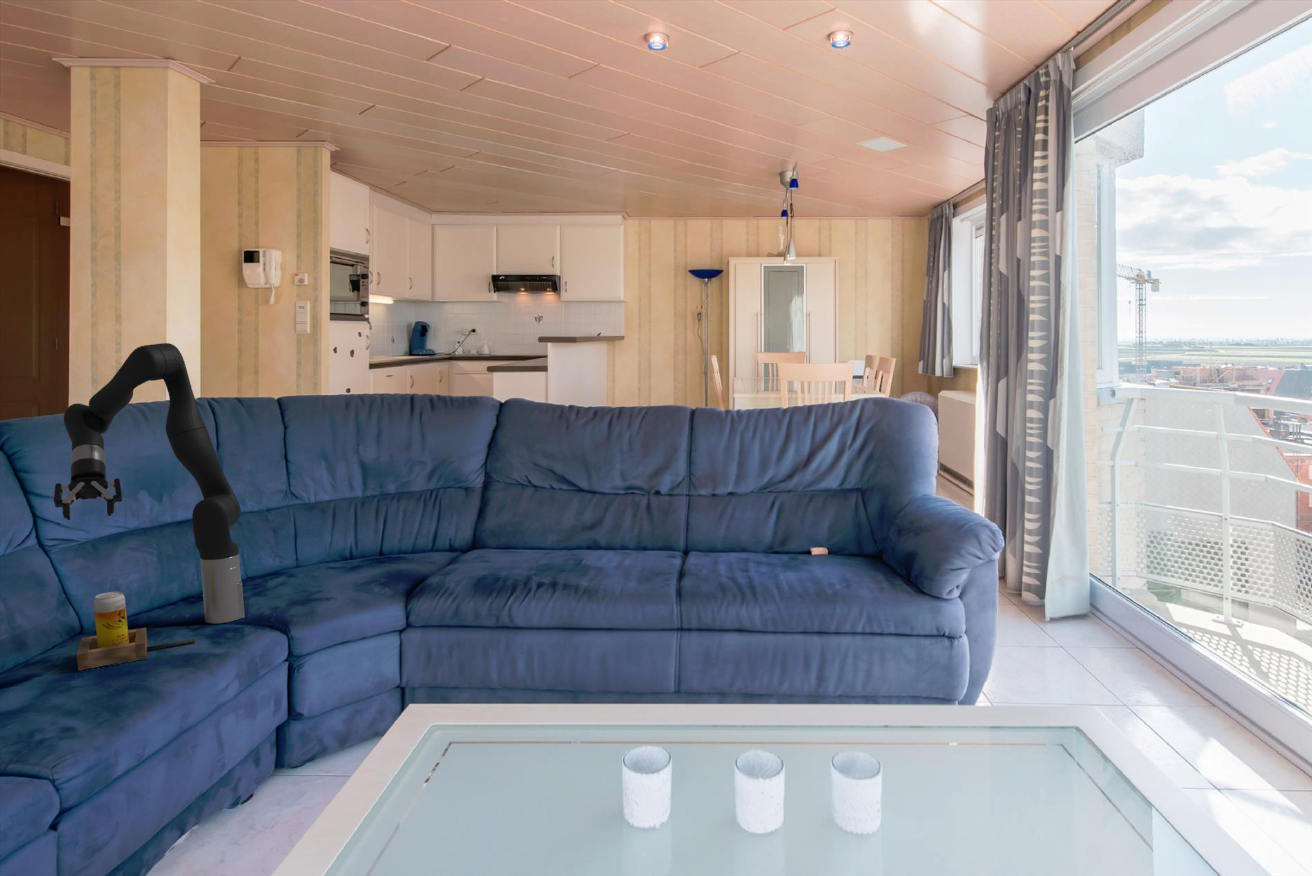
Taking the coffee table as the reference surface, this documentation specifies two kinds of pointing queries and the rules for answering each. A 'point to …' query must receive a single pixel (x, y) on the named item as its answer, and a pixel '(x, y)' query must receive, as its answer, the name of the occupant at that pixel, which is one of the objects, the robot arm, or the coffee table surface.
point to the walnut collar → (117, 650)
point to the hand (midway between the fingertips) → (89, 516)
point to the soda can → (111, 619)
